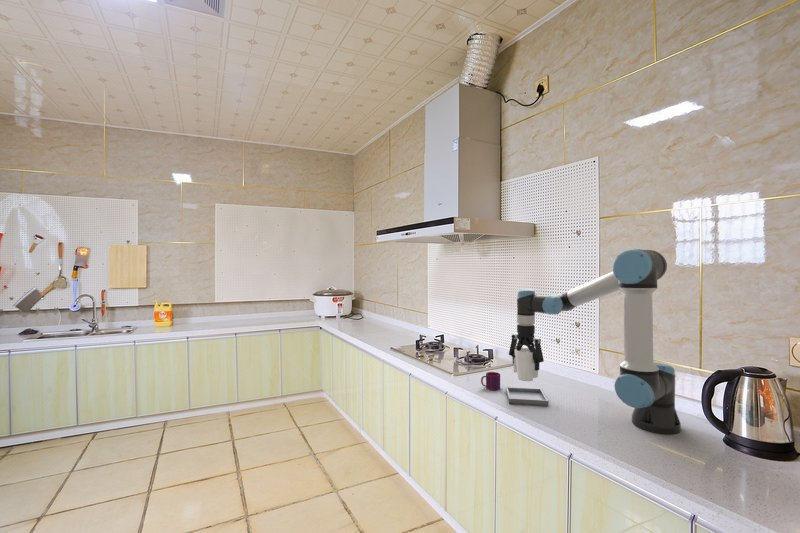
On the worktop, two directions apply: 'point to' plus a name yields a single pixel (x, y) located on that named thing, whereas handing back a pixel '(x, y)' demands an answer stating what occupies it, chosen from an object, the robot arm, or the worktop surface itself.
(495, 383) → the cup
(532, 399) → the tray
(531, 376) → the foam cup
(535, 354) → the robot arm
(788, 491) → the worktop surface
